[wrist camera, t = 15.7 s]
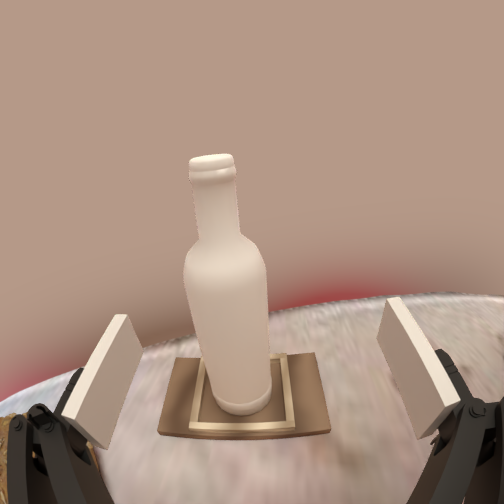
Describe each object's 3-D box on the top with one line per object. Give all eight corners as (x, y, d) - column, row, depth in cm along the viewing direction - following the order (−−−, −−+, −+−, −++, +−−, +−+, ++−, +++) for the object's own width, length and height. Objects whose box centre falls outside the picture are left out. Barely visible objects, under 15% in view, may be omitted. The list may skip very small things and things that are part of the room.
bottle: (284, 396, 33) (281, 152, 20) (235, 427, 29) (184, 167, 16) (249, 364, 39) (226, 150, 26) (204, 388, 35) (150, 163, 22)
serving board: (313, 357, 40) (314, 348, 39) (329, 432, 28) (332, 425, 27) (177, 362, 41) (174, 353, 40) (160, 434, 28) (154, 427, 27)
